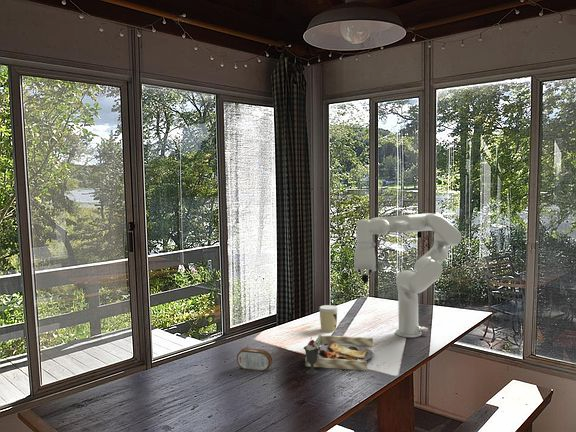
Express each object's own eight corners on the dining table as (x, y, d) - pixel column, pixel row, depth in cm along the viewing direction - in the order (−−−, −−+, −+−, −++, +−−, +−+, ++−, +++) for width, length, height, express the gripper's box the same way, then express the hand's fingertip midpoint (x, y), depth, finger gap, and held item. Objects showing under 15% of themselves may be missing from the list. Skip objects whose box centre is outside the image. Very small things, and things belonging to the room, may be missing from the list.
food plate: (304, 357, 211) (304, 349, 210) (335, 344, 228) (335, 336, 228) (353, 372, 194) (353, 364, 194) (382, 356, 212) (382, 349, 212)
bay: (372, 345, 225) (372, 337, 225) (366, 370, 195) (366, 361, 195) (319, 342, 231) (319, 335, 231) (305, 366, 201) (305, 357, 201)
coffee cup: (338, 332, 246) (338, 309, 245) (320, 332, 246) (319, 309, 245) (337, 327, 255) (336, 304, 254) (319, 327, 255) (318, 305, 255)
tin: (272, 370, 198) (272, 349, 197) (270, 372, 195) (269, 352, 194) (239, 366, 203) (238, 346, 202) (236, 369, 200) (235, 349, 199)
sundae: (309, 377, 189) (308, 339, 188) (301, 371, 195) (300, 334, 194) (323, 373, 192) (323, 336, 191) (315, 368, 198) (314, 332, 197)
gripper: (380, 244, 235) (381, 281, 236) (350, 244, 239) (350, 281, 240) (379, 246, 228) (380, 284, 229) (348, 246, 232) (348, 284, 233)
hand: (365, 282), depth 234 cm, fingers closed
